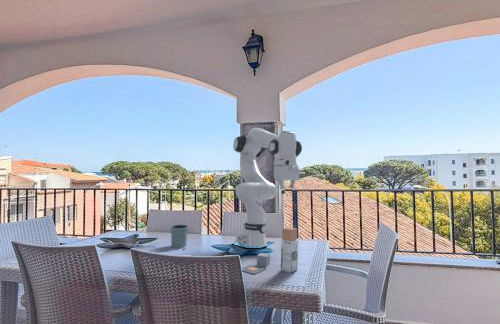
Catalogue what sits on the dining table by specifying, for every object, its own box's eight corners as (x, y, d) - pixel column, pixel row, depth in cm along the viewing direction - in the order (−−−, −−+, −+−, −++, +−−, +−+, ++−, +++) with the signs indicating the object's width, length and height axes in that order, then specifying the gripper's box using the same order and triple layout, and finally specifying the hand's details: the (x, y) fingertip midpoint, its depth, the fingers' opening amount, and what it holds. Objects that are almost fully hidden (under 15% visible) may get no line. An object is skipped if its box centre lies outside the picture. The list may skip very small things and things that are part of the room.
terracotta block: (282, 239, 140) (282, 228, 140) (287, 237, 144) (287, 227, 144) (291, 241, 137) (291, 230, 137) (296, 239, 141) (296, 228, 141)
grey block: (256, 265, 146) (256, 255, 146) (260, 262, 151) (260, 252, 151) (266, 267, 144) (266, 256, 144) (269, 264, 149) (269, 254, 149)
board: (239, 270, 139) (239, 269, 139) (250, 265, 146) (250, 264, 146) (254, 274, 133) (254, 273, 133) (266, 269, 140) (266, 268, 140)
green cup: (175, 243, 186) (175, 224, 186) (190, 244, 184) (190, 225, 184) (167, 247, 176) (167, 227, 176) (183, 249, 174) (183, 228, 174)
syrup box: (287, 267, 144) (287, 237, 144) (297, 270, 140) (298, 239, 140) (280, 270, 139) (280, 239, 140) (291, 273, 136) (291, 241, 136)
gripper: (292, 162, 165) (291, 187, 164) (271, 161, 148) (271, 189, 148) (302, 162, 161) (302, 188, 160) (282, 161, 145) (282, 190, 144)
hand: (287, 188), depth 154 cm, fingers open, 8 cm apart
